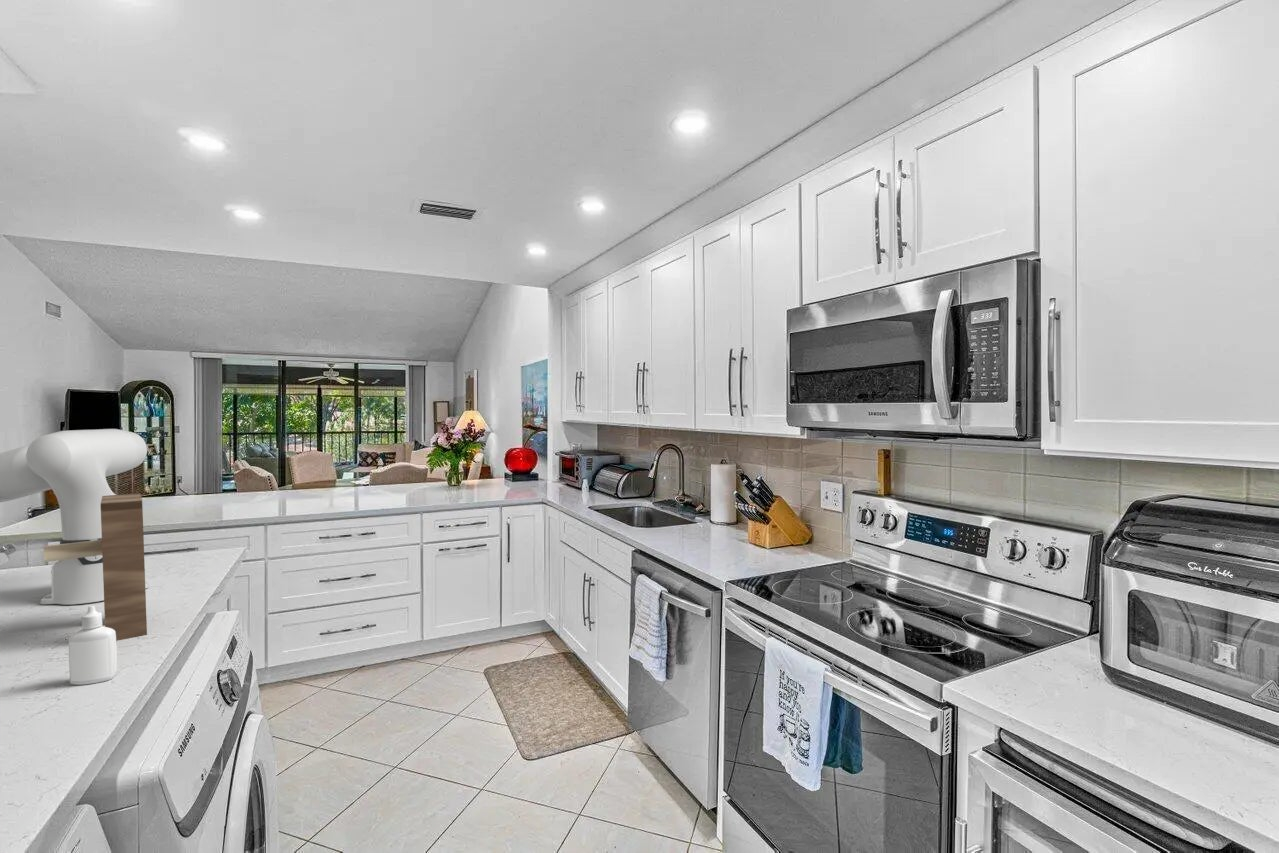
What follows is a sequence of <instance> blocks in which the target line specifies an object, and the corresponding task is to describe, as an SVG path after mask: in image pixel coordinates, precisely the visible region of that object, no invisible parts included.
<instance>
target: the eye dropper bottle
mask: <svg viewBox="0 0 1279 853" xmlns="http://www.w3.org/2000/svg"><path fill="white" fill-rule="evenodd" d="M68 663H69V665H68V666H69V683H70V684H71V685H75V686H76V685H77V686H83V685H95V684H99V683H104V682H108V681H111V680H112V679H114V678H115V677H116V676H117V675H118V648H117V640H116V632H115V630H114V629H112V628H108V627H105V626H103V612H101V611H100V612H99V611H97V609H96V606H95V605H89V606H88V607H87V612H86V613H85V614H83V615H82V616H81V629H79V630H78V631H76V632H74V633H73V634H72V635H71V636H70V637H69V639H68Z"/></svg>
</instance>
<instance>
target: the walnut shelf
mask: <svg viewBox="0 0 1279 853" xmlns="http://www.w3.org/2000/svg"><path fill="white" fill-rule="evenodd" d="M143 509H144V508H143V498H142V494H141V493H140V492H138V493H136V492H135V493H124V494H116V495H109V496H102V499H101V531H102V557H103V584H104V600H103V604H104V605H103V606H104V627H108V628H112V629H114V630H115V632H116V641H120V640H126V639H130V638H135V637H136V638H137V637H142V636H146V635H148V627H147V626H148V624H147V621H148V620H147V600H146V599H147V598H146V597H147V595H146V589H145V582H146V570H145V569H146V568H145V544H144V543H145V542H144V540H145V537H144V515H143V514H144V510H143Z"/></svg>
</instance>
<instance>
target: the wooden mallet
mask: <svg viewBox="0 0 1279 853" xmlns="http://www.w3.org/2000/svg"><path fill="white" fill-rule="evenodd" d="M98 555H102V540H94V541H85V542H76V543H67V544H60V543H58V544H51V545H45V546H44V547H43V562H44V563H47V562H48V563H49V562H58V561H59V560H66V559H74V558H82V557H90V556H98Z"/></svg>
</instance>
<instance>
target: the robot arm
mask: <svg viewBox="0 0 1279 853" xmlns="http://www.w3.org/2000/svg"><path fill="white" fill-rule="evenodd" d="M145 441H146V440H144V439H143V437H142V436H140V435H139V434H138V433H136V432H132V431H128V430H124V429H118V428H102V429H101V428H99V429H97V428H96V429H74V430H73V429H72V430H59V431H56V432H51V433H48V434H45V435H42V436H38V437H37V438H35V439H34V440H32V441H31V443H30V444H28V445H25V446H21V447H16V448H14V449H10V450H6V451H3V452H0V503H4V502H9V501H13V500H17V499H21V498H25V497H28V496H33V495H36V494H38V493H39V494H40V493H42V492H46V491H50V490H52V491H53V494H54V495H55V497H56V499H57V503H58V506H59V511H60V521H61V525H60V526H61V537H62V538H60V540H59V544H67V543H76V542H85V541H94V540H102V531H101V499H102V496H109V495H117V494H116V493H115V492H113V491H112V489H111V488H110V485H109V483H108V481H107V477H110V476H114V475H118V474H121V473H125V472H128V471H130V470H132V469H135V468H137V467H138V466H140V465H141V464H143V462H144V461H145V460H146V458H147V455H148V446H147V443H146V442H145ZM16 551H17V546H16V545H15V544H14V543H12V542H8V543H6V544H4V545H2V546H0V566H1V565H4V564H5V563H8V562H9V560H10V556H9V555H11V554H13V553H15V552H16ZM50 573H51V592H50V593H48V594H47V595H45V596H44V597H43V598H41V599H40V605H81V604H83V605H84V604H90V603H97V602H102V601H103V602H104V584H103V557H102V555H98V556H90V557H82V558H74V559H66V560H57V561H55V563H54V564H53V565H51V570H50ZM148 588H149V583H148V582H146V581H145V590H147V589H148Z"/></svg>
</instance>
